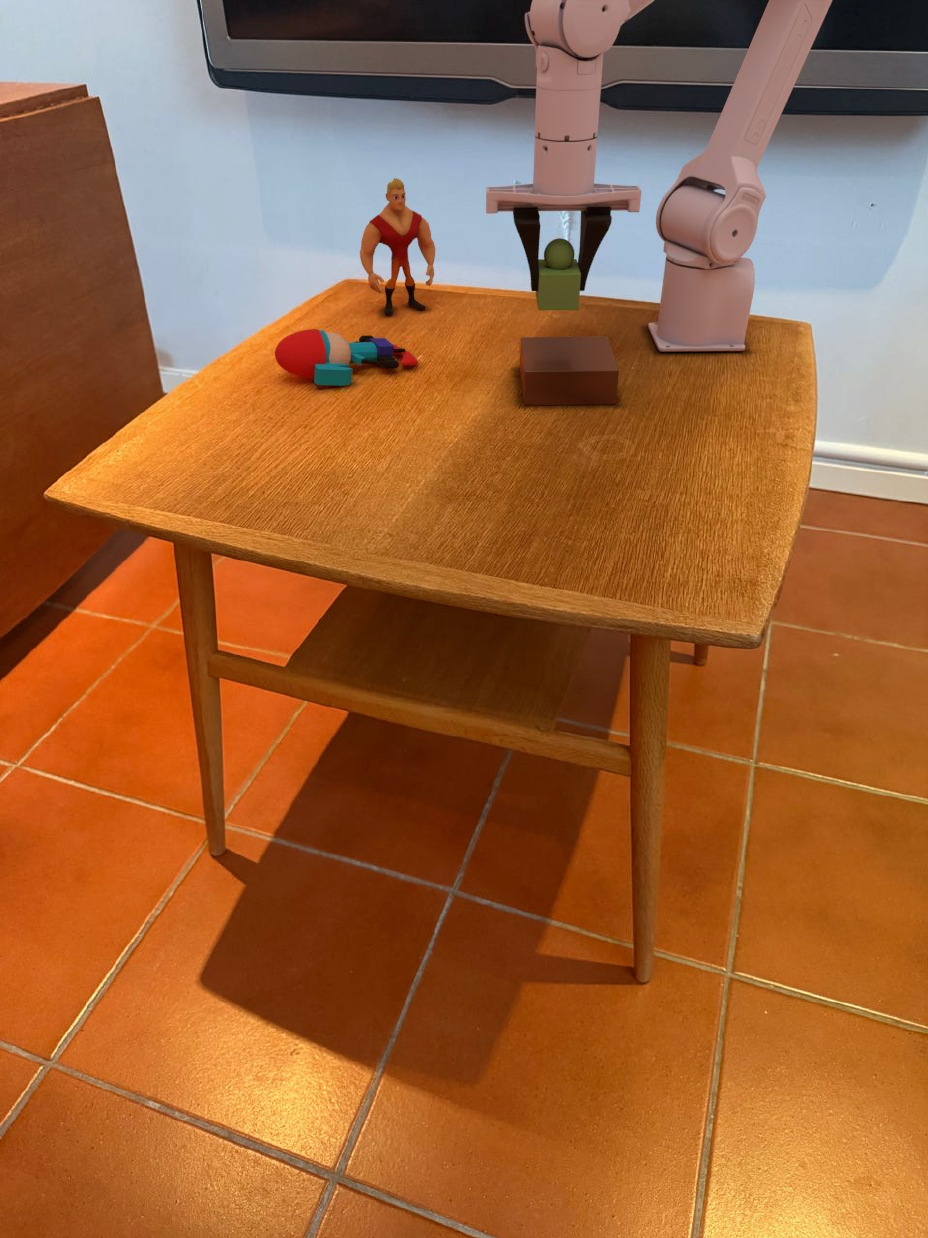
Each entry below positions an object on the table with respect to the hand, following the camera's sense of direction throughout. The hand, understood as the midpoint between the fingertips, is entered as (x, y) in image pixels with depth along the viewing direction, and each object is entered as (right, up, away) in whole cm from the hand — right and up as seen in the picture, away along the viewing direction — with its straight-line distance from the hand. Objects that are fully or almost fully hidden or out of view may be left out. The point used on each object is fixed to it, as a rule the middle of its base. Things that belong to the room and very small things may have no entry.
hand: (557, 287), depth 89 cm
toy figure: (-22, -7, +5) cm, 24 cm away
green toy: (0, -1, +1) cm, 1 cm away
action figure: (-17, +5, +20) cm, 27 cm away
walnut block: (+1, -10, +2) cm, 10 cm away
